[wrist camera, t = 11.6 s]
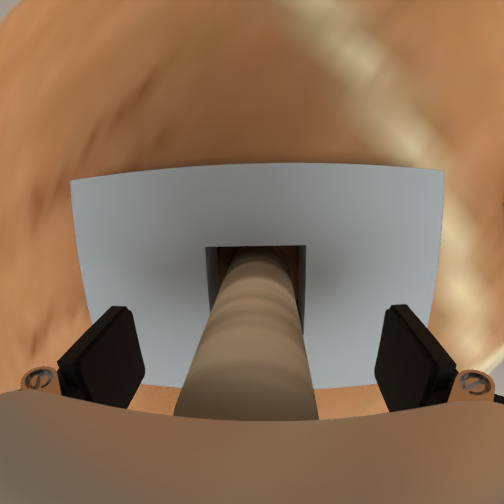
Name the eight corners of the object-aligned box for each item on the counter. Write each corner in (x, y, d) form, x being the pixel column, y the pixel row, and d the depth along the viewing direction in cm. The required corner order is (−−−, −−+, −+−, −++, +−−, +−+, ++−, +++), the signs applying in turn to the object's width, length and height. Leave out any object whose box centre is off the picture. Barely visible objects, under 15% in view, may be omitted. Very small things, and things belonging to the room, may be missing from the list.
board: (101, 177, 20) (70, 180, 16) (414, 169, 19) (443, 170, 15) (127, 351, 23) (107, 378, 19) (396, 349, 22) (414, 377, 18)
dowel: (227, 242, 20) (158, 369, 7) (289, 241, 20) (328, 371, 7) (229, 299, 22) (184, 464, 8) (288, 299, 21) (313, 467, 8)
